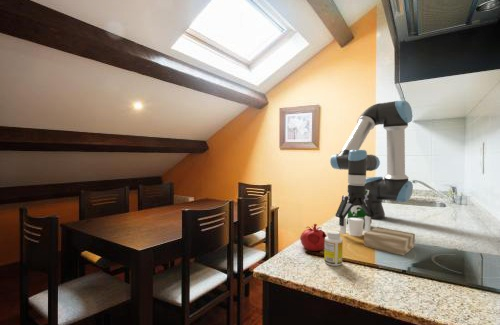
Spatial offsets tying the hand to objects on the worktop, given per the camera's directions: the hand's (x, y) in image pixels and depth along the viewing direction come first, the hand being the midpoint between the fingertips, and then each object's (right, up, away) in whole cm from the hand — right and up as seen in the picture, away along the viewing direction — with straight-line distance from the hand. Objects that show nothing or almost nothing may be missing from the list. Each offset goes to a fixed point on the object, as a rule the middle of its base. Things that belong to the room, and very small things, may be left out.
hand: (355, 232), depth 122 cm
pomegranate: (-23, -2, -19) cm, 30 cm away
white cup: (0, -1, 0) cm, 1 cm away
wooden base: (+7, -2, -15) cm, 17 cm away
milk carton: (+8, -1, +18) cm, 19 cm away
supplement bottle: (-20, -2, -33) cm, 39 cm away
